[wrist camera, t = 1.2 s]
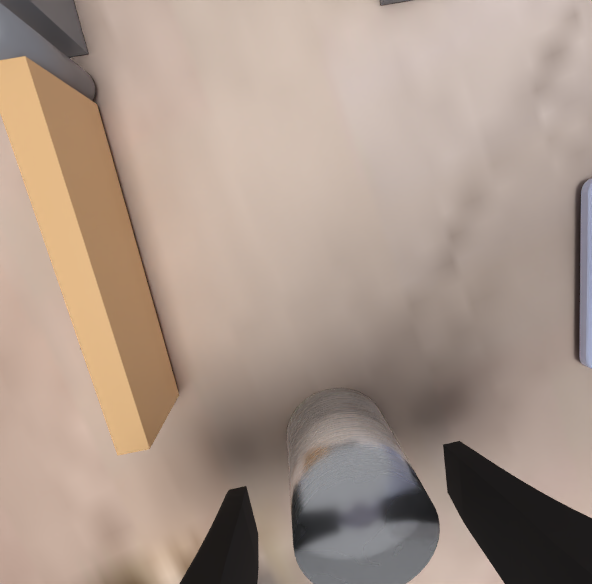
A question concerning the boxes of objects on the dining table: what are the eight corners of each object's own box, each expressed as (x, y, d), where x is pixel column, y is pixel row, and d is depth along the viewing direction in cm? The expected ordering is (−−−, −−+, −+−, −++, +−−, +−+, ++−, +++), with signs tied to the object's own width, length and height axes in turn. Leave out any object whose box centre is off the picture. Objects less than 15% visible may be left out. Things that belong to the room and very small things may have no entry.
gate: (52, 70, 11) (-54, -3, 7) (88, 64, 11) (0, -11, 7) (152, 400, 13) (109, 463, 10) (181, 394, 14) (149, 454, 10)
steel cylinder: (378, 378, 14) (432, 460, 9) (389, 465, 15) (445, 580, 10) (278, 399, 14) (281, 492, 9) (296, 484, 15) (307, 610, 10)
